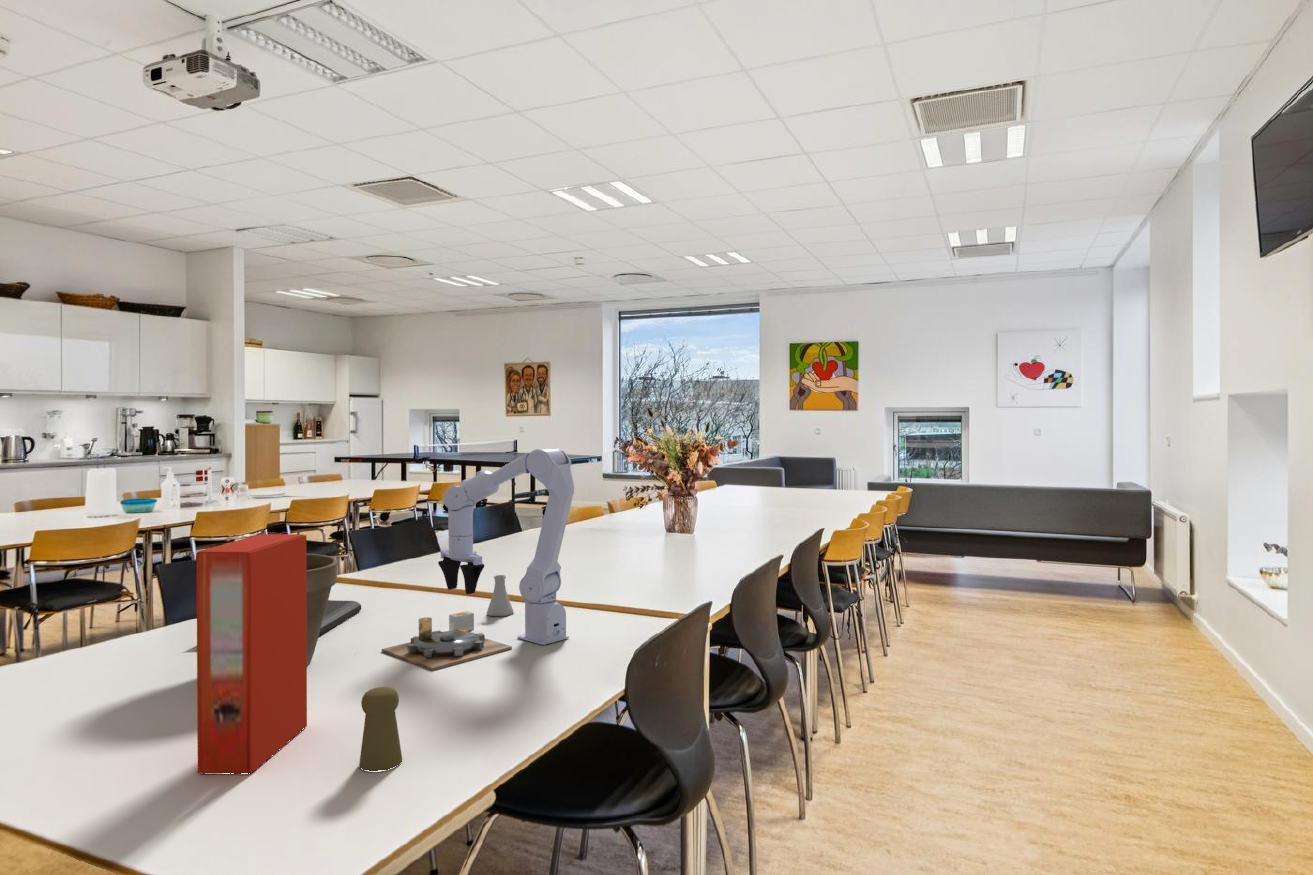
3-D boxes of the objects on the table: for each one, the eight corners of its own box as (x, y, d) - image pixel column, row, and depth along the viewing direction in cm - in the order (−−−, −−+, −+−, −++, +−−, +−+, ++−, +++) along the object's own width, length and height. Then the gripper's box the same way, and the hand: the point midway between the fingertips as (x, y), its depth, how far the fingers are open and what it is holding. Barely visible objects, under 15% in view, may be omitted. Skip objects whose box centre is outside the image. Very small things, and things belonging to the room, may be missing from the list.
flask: (517, 610, 208) (517, 573, 208) (509, 617, 201) (509, 579, 201) (490, 610, 209) (490, 573, 209) (482, 617, 202) (481, 578, 202)
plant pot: (364, 660, 165) (363, 558, 165) (253, 695, 144) (251, 578, 144) (290, 643, 178) (289, 548, 178) (178, 673, 157) (177, 566, 156)
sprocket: (478, 632, 183) (478, 607, 183) (491, 652, 168) (491, 624, 168) (404, 640, 177) (404, 614, 177) (410, 661, 161) (410, 633, 161)
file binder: (308, 727, 129) (306, 534, 128) (253, 774, 112) (250, 551, 111) (260, 727, 129) (257, 534, 128) (197, 774, 112) (194, 551, 111)
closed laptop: (271, 598, 208) (361, 599, 208) (271, 613, 208) (361, 615, 208) (196, 631, 175) (302, 633, 175) (196, 649, 175) (302, 651, 175)
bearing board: (511, 649, 173) (511, 646, 173) (432, 670, 158) (432, 667, 158) (459, 633, 186) (459, 630, 186) (381, 651, 171) (381, 648, 171)
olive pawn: (407, 754, 118) (406, 682, 118) (395, 772, 112) (394, 696, 112) (367, 755, 118) (366, 682, 118) (352, 773, 112) (352, 696, 112)
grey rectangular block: (473, 629, 190) (473, 612, 190) (456, 633, 186) (456, 616, 186) (466, 627, 192) (466, 610, 192) (449, 631, 188) (449, 614, 188)
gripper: (492, 536, 187) (493, 592, 187) (457, 530, 197) (458, 584, 197) (467, 539, 182) (468, 597, 182) (432, 533, 191) (433, 589, 192)
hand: (461, 591), depth 189 cm, fingers open, 7 cm apart
